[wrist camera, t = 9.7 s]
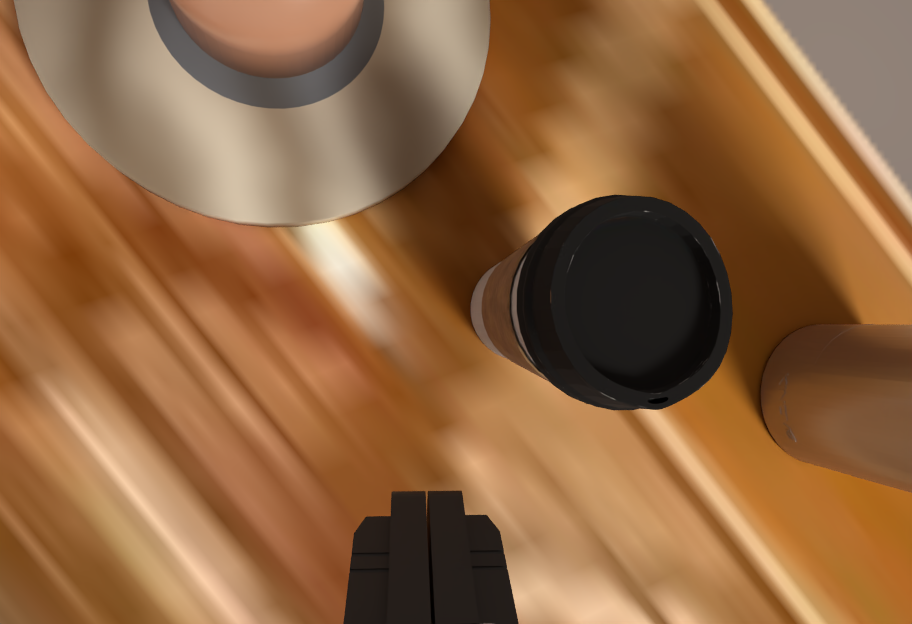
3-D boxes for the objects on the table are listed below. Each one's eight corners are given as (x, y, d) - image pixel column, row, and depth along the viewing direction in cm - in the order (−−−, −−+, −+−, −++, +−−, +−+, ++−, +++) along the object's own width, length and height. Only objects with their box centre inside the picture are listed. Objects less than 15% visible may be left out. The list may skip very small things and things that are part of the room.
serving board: (457, -198, 37) (463, -220, 36) (506, 208, 38) (514, 203, 36) (-4, -226, 32) (-19, -253, 31) (56, 247, 32) (44, 244, 31)
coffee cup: (455, 388, 37) (550, 431, 22) (442, 242, 37) (530, 188, 22) (589, 373, 39) (760, 404, 24) (578, 234, 39) (741, 179, 24)
